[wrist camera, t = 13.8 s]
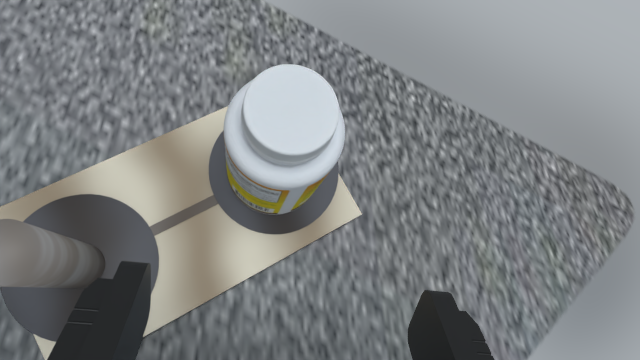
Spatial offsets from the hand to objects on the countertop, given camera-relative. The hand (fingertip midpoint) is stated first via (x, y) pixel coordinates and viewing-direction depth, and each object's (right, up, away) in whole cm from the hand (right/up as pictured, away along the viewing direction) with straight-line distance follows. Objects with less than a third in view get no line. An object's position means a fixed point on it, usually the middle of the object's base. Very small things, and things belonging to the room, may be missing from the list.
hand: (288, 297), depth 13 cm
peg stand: (-7, +1, +14) cm, 16 cm away
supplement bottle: (-2, +4, +15) cm, 16 cm away
